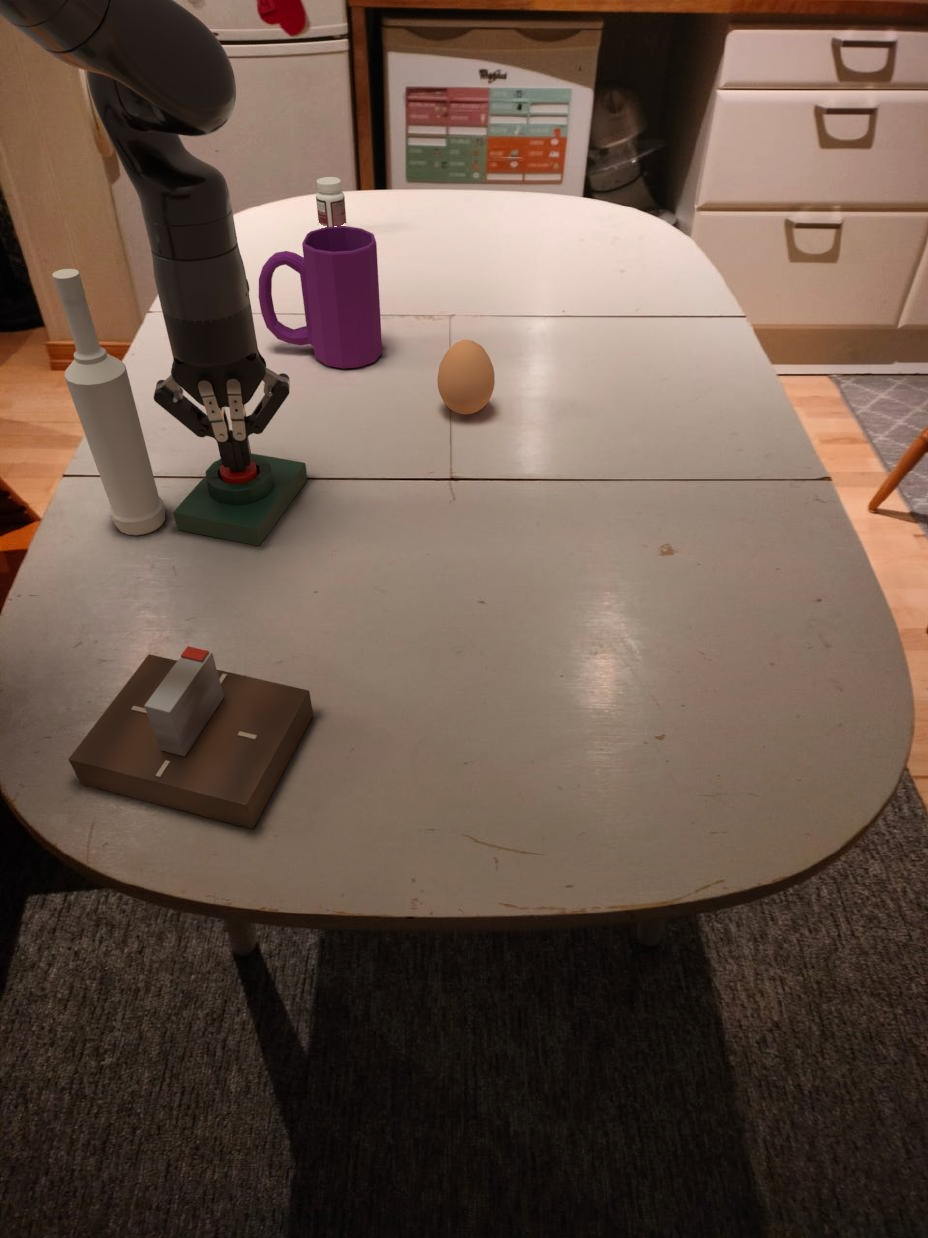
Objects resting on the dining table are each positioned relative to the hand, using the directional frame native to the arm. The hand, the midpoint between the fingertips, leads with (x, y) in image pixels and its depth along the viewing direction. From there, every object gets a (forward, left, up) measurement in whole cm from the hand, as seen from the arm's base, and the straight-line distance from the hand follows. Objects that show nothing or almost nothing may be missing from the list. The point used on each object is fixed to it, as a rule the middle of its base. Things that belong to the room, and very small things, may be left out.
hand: (238, 467), depth 85 cm
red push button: (0, 0, -2) cm, 2 cm away
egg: (+17, +25, -5) cm, 31 cm away
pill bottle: (-21, +76, -5) cm, 79 cm away
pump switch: (0, 0, -4) cm, 5 cm away
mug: (-5, +34, -5) cm, 35 cm away
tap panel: (+11, -30, -4) cm, 32 cm away
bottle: (-9, -6, -5) cm, 12 cm away
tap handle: (+11, -30, -1) cm, 32 cm away
